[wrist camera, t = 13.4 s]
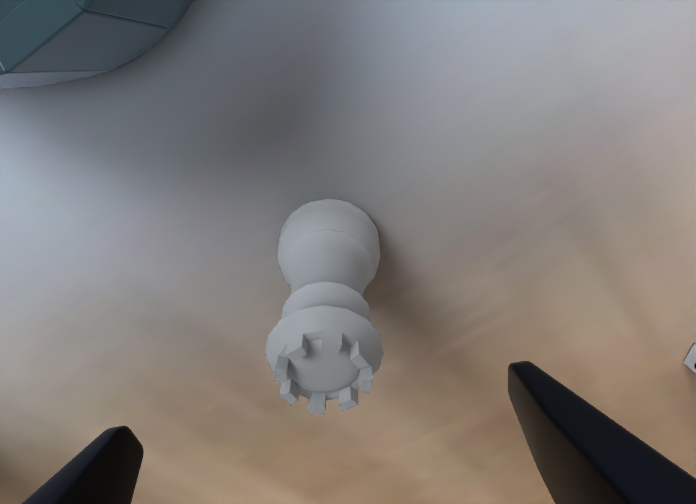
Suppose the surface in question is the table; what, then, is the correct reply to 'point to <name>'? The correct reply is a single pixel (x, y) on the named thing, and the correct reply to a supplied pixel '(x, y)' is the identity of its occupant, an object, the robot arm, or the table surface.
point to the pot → (77, 37)
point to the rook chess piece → (326, 306)
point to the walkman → (691, 359)
